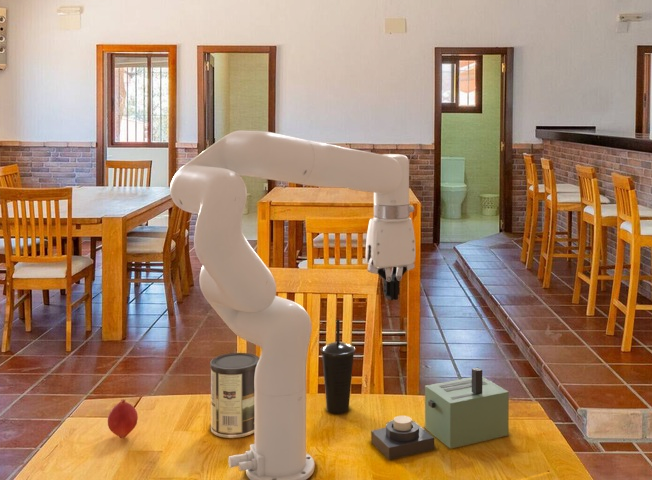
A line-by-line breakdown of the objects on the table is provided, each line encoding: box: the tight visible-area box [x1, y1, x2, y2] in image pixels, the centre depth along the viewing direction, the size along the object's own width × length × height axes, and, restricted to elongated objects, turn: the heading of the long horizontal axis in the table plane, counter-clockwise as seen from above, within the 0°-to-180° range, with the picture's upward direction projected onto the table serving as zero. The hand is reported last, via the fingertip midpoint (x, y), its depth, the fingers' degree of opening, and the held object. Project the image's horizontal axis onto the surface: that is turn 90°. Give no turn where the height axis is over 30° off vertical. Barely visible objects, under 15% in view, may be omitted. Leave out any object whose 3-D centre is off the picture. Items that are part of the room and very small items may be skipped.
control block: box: [370, 419, 435, 461], centre depth 140 cm, size 10×8×4 cm
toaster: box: [424, 375, 510, 449], centre depth 146 cm, size 15×10×9 cm
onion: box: [107, 398, 139, 439], centre depth 144 cm, size 6×6×8 cm
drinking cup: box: [320, 319, 356, 415], centre depth 157 cm, size 8×8×20 cm
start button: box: [392, 415, 413, 431], centre depth 140 cm, size 4×4×2 cm
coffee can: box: [209, 352, 260, 439], centre depth 148 cm, size 10×10×14 cm
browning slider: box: [471, 367, 483, 394], centre depth 144 cm, size 2×2×5 cm
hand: (391, 298), depth 150 cm, fingers closed
